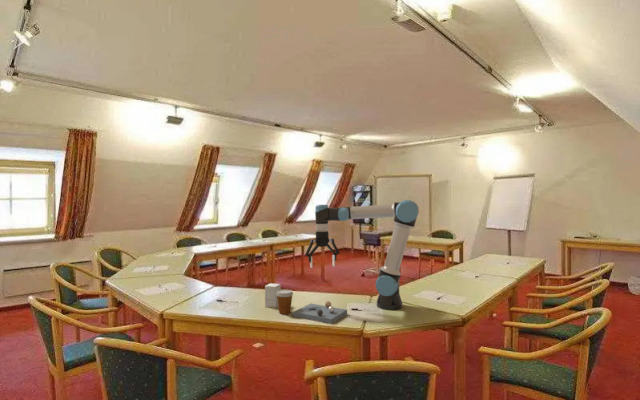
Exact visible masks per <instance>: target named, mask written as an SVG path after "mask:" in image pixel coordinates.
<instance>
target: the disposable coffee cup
mask: <svg viewBox="0 0 640 400" xmlns="http://www.w3.org/2000/svg"><path fill="white" fill-rule="evenodd" d="M276 295H277V299H278V313H279V314H281V315H288V314H290V313H291V310H292V309H291V308H292V301H293V300H292V299H293V295H294V292H293V290H292V289H281V290H279V291H277V293H276Z"/></svg>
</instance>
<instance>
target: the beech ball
mask: <svg viewBox="0 0 640 400" xmlns="http://www.w3.org/2000/svg"><path fill="white" fill-rule="evenodd" d="M324 306H326V307H327V308H329V307H330V306H332V303H331V302H330V301H329V300H328V301H326V302H325V305H324Z"/></svg>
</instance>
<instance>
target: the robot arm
mask: <svg viewBox="0 0 640 400" xmlns="http://www.w3.org/2000/svg"><path fill="white" fill-rule="evenodd" d="M419 210H420V209H419V206H418V205H417V203H416V202H415V201H413V200H411V199H405V200H402V201H399V202H393V203H392V204H378V205H377V204H376V205H374V204H373V205H362V206H361V205H360V206H359V205H357V206H342V207H329V205H328V204H316V205H315V210H314V213H315V214H314V215H315V239H310V242H309V245H308V247H307V249H306V251H305V256H307V257H308V262H309V266H310V268H311V269H313V267H314V266H313V265H314V264H313V254H314V253H315V252H316V251H317V249H318V248H322V247H324V248H328V249H329V250H330V252H331V253H332V255H331V258H332V267H334V268H335V267H336V261H337V255H339V254H340V251H339V248H338V247H337V244H336V243H335V239H334V238H333V237H331V238H329V236H330V235H329V222H330V221H331V222H332V221H333V222H335V221H336V222H344V221H345V222H346V221H348V220H358V219H359V220H360V219H361V220H362V219H381V218H382V219H383V218H393V221H392V222H393V224H394V228H393V231H392V236H391V240H390V244H389V247H388V249H387V254H386V258H385V261H384V264H383V266H381V267H380V268H379V270H378V275H377V278H376V280H375V288H376V291H377V292H378V293H379V294H378V297H377V299H376V307H377V308H379V309H383V310H389V311H390V310H391V311H393V310H394V311H395V310H400V309H402V308H403V300H402V298H401V294H400V279H401V275H402V274H401V271H400V268H401V265H402V261H403V258H404V254H405V252H406V247H407V243H408V240H409V237H410V233H411V230H412V229H414V228H415V226H416V222H417V218H418V216H419ZM329 242H330V243H331V245H332V247H333V248H332V247H331V245H330V244H329ZM315 243H316V244H315ZM314 244H315V245H314ZM313 245H314V247H313Z"/></svg>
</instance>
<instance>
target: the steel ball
mask: <svg viewBox="0 0 640 400" xmlns="http://www.w3.org/2000/svg"><path fill="white" fill-rule="evenodd" d="M334 308H335V307H334V306H332V305H331V306H330V307H329V308H328V311H329V312H330V313H333V312H334V310H335V309H334Z"/></svg>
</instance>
